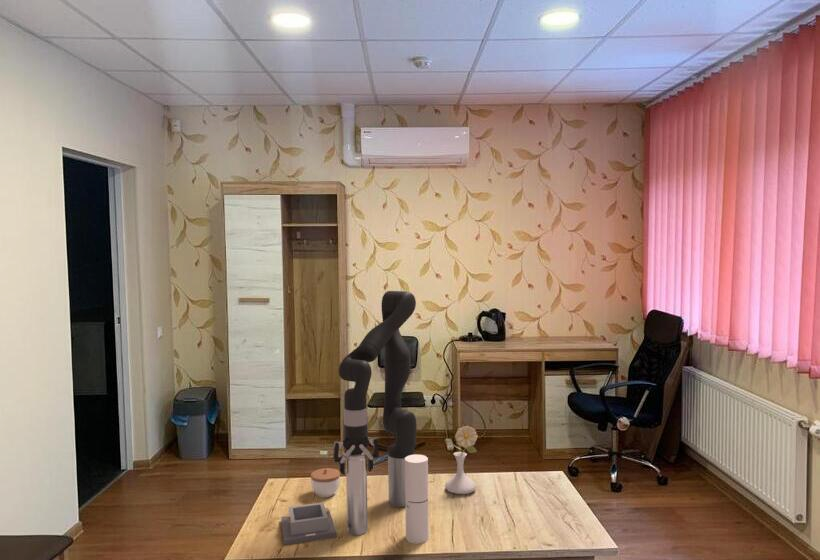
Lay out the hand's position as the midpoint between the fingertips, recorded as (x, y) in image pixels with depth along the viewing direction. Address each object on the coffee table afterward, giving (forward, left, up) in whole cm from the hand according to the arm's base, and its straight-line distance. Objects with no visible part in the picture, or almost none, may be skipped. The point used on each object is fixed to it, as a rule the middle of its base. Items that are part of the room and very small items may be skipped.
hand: (356, 472), depth 179 cm
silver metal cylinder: (0, 0, -19) cm, 19 cm away
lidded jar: (+6, -31, -19) cm, 37 cm away
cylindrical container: (-17, +10, -19) cm, 28 cm away
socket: (+15, -6, -19) cm, 25 cm away
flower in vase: (-43, -18, -19) cm, 50 cm away
